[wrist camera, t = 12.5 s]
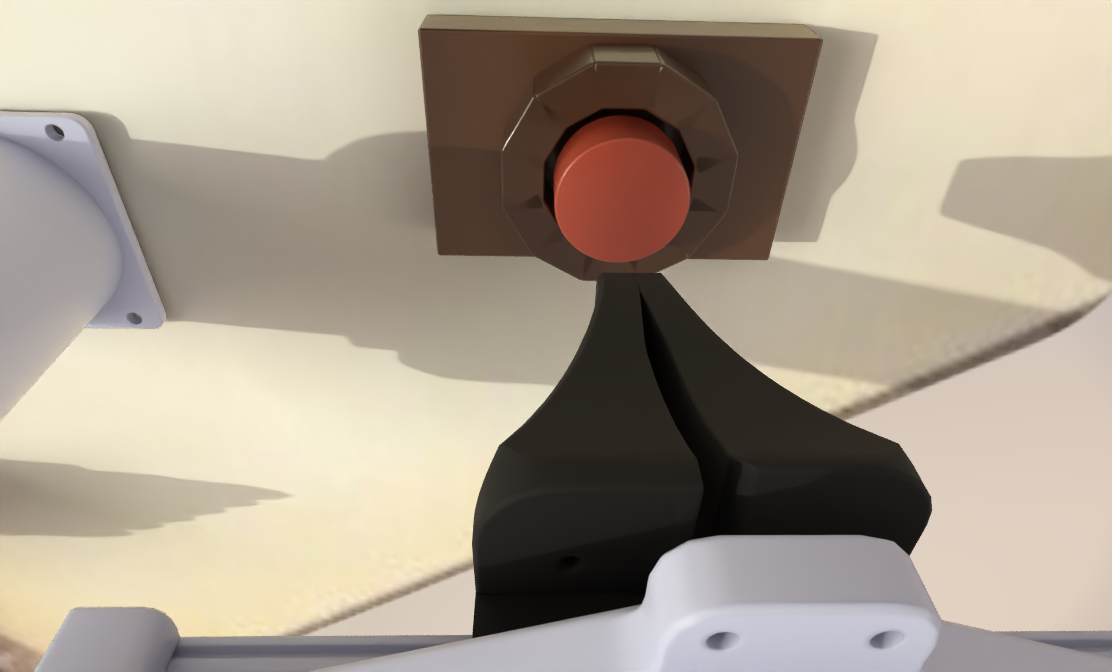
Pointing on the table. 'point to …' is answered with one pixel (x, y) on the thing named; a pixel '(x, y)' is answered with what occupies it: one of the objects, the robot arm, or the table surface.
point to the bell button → (620, 189)
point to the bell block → (600, 91)
